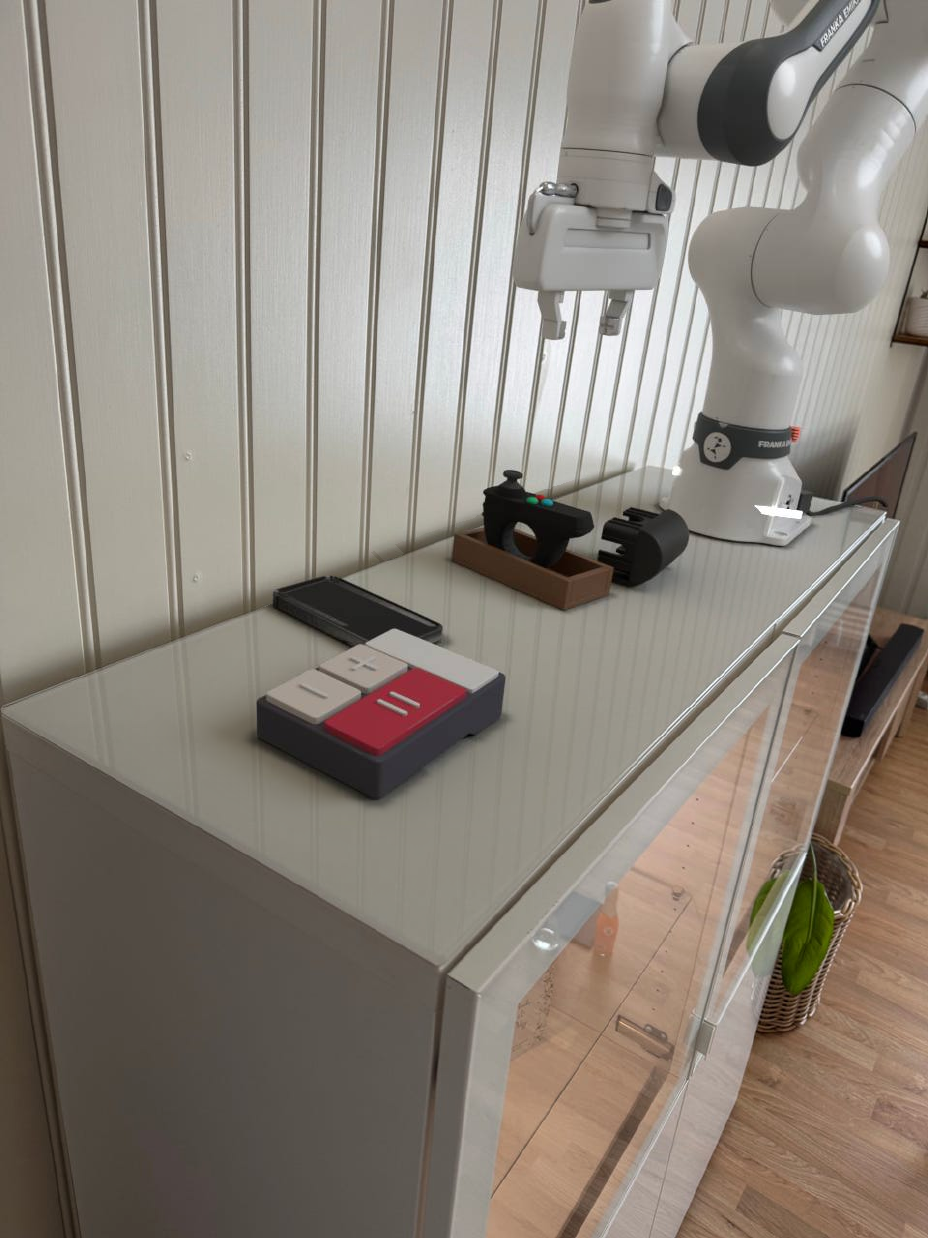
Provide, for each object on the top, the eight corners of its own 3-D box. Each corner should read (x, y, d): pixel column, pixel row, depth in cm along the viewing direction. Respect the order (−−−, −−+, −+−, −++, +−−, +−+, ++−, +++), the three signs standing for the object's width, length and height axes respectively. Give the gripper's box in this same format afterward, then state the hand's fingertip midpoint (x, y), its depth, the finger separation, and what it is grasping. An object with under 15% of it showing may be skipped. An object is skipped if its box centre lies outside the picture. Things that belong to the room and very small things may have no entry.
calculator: (253, 690, 62) (393, 618, 74) (254, 743, 64) (390, 666, 76) (379, 753, 57) (509, 666, 68) (376, 809, 59) (503, 715, 70)
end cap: (654, 596, 98) (667, 535, 95) (592, 578, 100) (603, 518, 98) (682, 571, 106) (695, 514, 103) (623, 555, 109) (634, 499, 106)
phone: (331, 573, 90) (448, 626, 81) (330, 584, 90) (446, 638, 82) (266, 591, 84) (385, 650, 76) (266, 603, 84) (384, 663, 76)
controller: (489, 551, 103) (501, 463, 99) (588, 584, 97) (605, 491, 93) (468, 560, 99) (479, 469, 95) (569, 594, 94) (585, 499, 90)
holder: (497, 548, 106) (501, 522, 105) (608, 595, 96) (614, 567, 95) (451, 560, 100) (454, 533, 99) (563, 610, 91) (568, 581, 90)
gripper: (560, 181, 80) (540, 347, 85) (686, 196, 93) (661, 337, 99) (505, 177, 83) (490, 336, 89) (634, 191, 97) (613, 328, 103)
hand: (581, 336), depth 94 cm, fingers open, 8 cm apart
